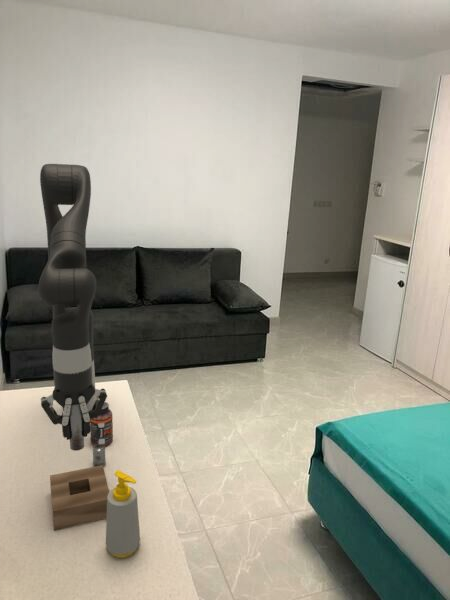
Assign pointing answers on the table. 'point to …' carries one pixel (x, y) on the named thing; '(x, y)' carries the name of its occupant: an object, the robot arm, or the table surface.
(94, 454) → the short pin
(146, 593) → the table surface
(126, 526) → the soap bottle
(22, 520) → the table surface
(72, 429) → the tall pin
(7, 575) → the table surface
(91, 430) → the supplement bottle
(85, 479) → the guide block
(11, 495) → the table surface
